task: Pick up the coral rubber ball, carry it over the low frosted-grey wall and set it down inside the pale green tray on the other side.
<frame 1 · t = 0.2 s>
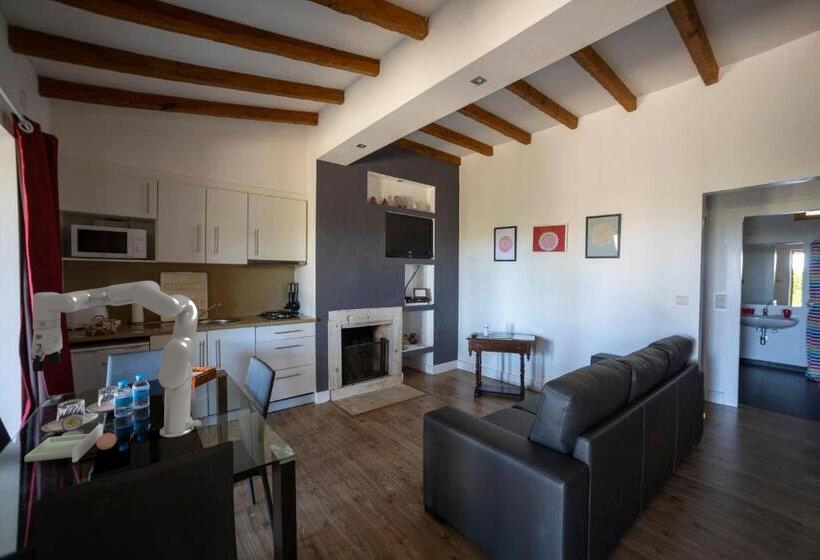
hand: (46, 367, 139), 31 cm above the table, tool pointing down, fingers open, 9 cm apart
pocket watch: (73, 434, 148), on the table
tray: (60, 449, 137), on the table
wall: (88, 448, 139), on the table
ball: (106, 441, 139), point 3 cm above the table
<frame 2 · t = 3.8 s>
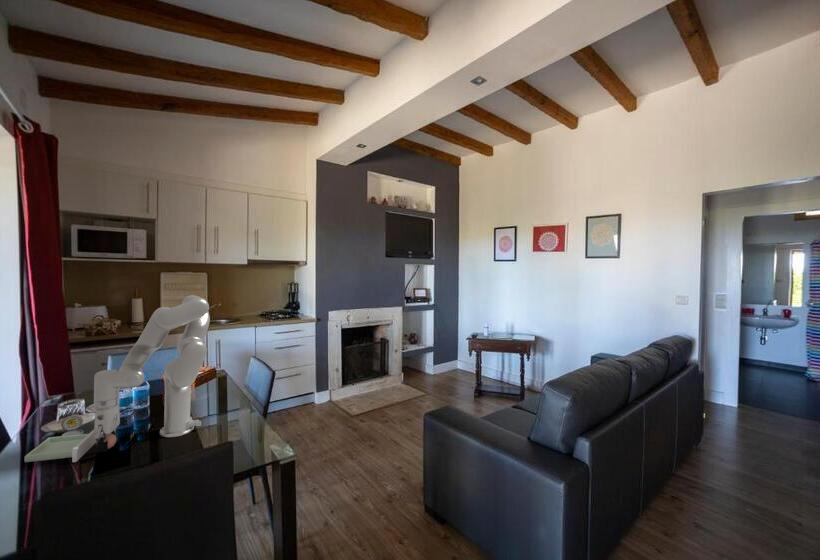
hand: (106, 446, 139), 1 cm above the table, tool pointing down, fingers closed on ball, 5 cm apart
ball: (106, 441, 139), point 3 cm above the table, touching gripper
everything else where it was.
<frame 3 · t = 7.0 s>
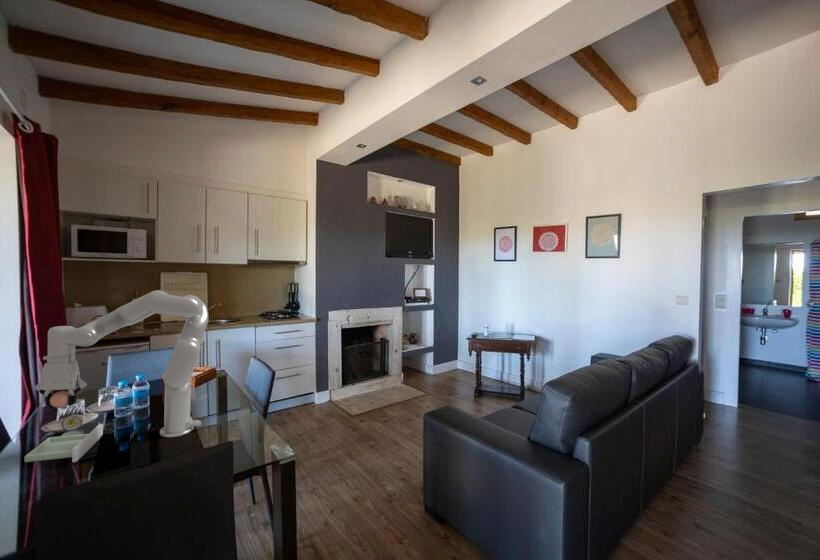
hand: (60, 404, 136), 18 cm above the table, tool pointing down, fingers closed on ball, 5 cm apart
ball: (61, 399, 136), point 20 cm above the table, touching gripper
everything else where it was.
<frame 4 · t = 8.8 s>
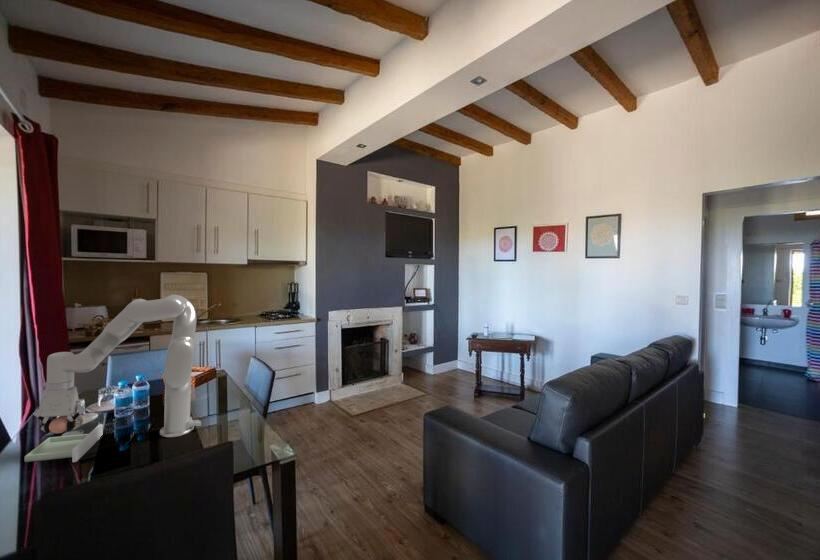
hand: (59, 430, 136), 8 cm above the table, tool pointing down, fingers closed on ball, 5 cm apart
ball: (59, 425, 136), point 10 cm above the table, touching gripper
everything else where it was.
when the fingers open (3 cm above the table, at t = 10.2 s): ball drops 1 cm, resting on tray.
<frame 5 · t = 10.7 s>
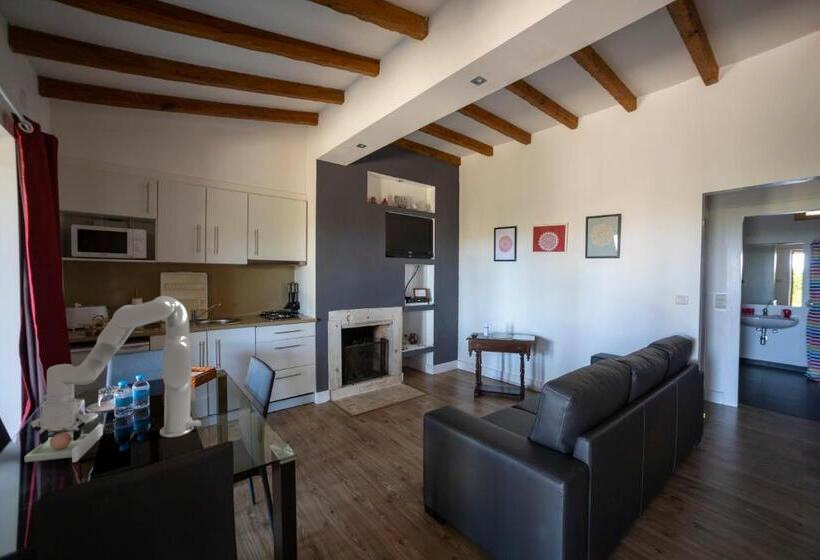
hand: (60, 440, 136), 4 cm above the table, tool pointing down, fingers open, 9 cm apart
ball: (60, 440, 137), point 4 cm above the table, touching tray
everything else where it was.
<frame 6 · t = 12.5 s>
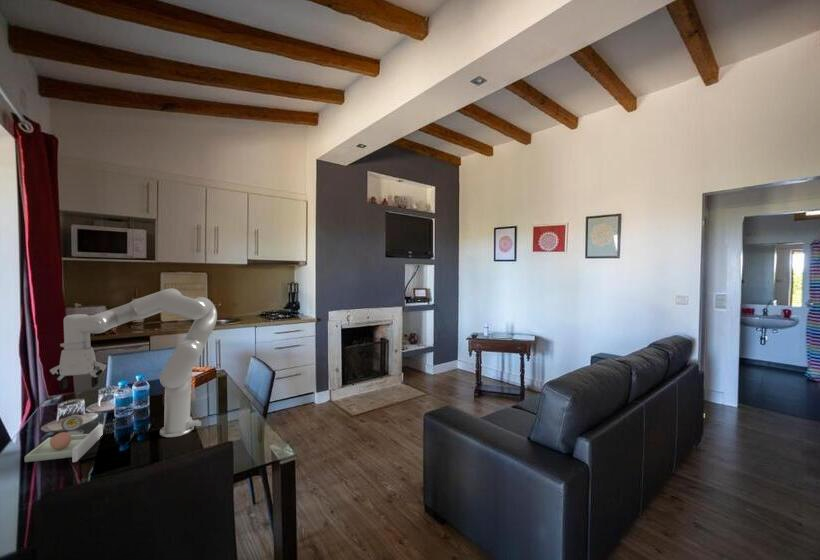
hand: (79, 387, 142), 22 cm above the table, tool pointing down, fingers open, 9 cm apart
nothing on the table moved.
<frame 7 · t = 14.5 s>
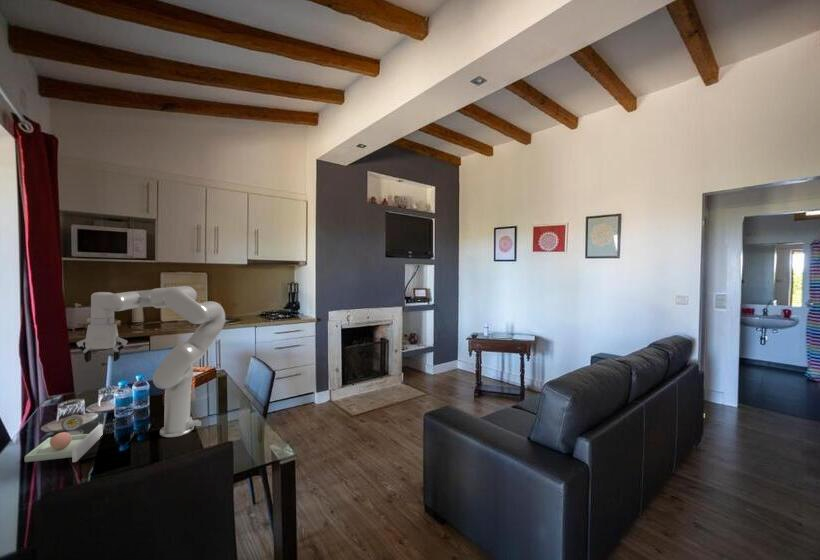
hand: (102, 360, 152), 30 cm above the table, tool pointing down, fingers open, 9 cm apart
nothing on the table moved.
at the end: ball inside the target area on the tray (0.1 cm from its centre), point 3.6 cm above the tray's base; the gripper is holding nothing; ball touching tray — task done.
